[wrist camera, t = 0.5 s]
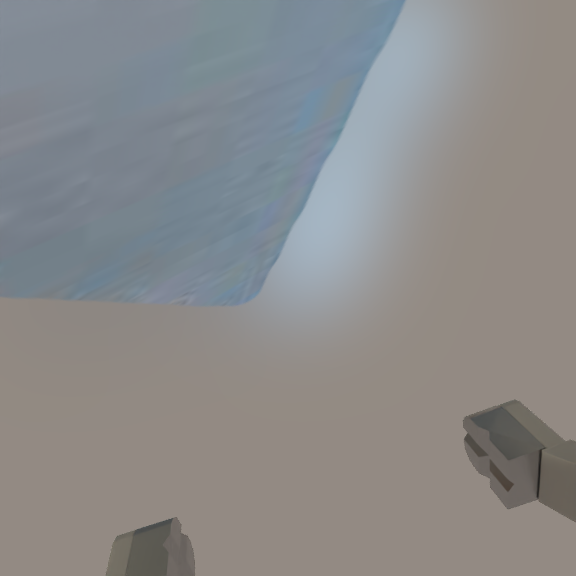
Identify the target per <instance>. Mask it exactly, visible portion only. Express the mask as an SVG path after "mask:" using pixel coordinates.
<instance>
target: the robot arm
mask: <svg viewBox="0 0 576 576" xmlns="http://www.w3.org/2000/svg"><path fill="white" fill-rule="evenodd" d="M463 427H464V429H465V430H466V431H467V432H468V433H467V435H466V437H465V438H464V444H465V450H466V452H467V455H468V457H469V459H470V461H471V462H472V464H473V466H474V467H475V468H476V470H477V471H478V472H479V473H480V474H482V475H484V476H486V477H488V478H490V488H491V489H492V490H493V491H494V493H495V494H496V495H497V496H498V498H499V499H500V500H501V501H502V503H503V504H504V505H505V507H506V508H507V509H511V508H514V507H517V506H520V505H523V504H526V503H528V502H532V501H535V500H537V499H539V502H541V503H543V504H544V505H546V506H548V507H550V508H551V509H553V510H555V511H557V512H558V513H560V514H562V515H564V516H566V517H567V518H569V519H571V520H572V521H574V522H576V441H573V440H569V441H565V440H564V439H562V438H561V437H560V436H559V435H558V434H557V433H556V432H554V431H553V430H552V429H551V428H550V427H548V426H547V425H546V424H545V423H544V422H543V421H542V420H540V419H539V418H538V417H537V416H536V415H534V414H533V413H532V412H531V411H530V410H529V409H528V408H526V407H525V406H524V405H523V404H522V403H521V402H520V401H517V400H512V401H509V402H506V403H503V404H500V405H498V406H494V407H491V408H488V409H485V410H483V411H480V412H477V413H474V414H471V415H469V416H466V417H465V418H464V420H463ZM106 576H195V560H194V553H193V548H192V545H191V542H190V540H189V538H188V536H187V535H184V534H182V533H181V524H180V522H179V520H178V519H177V517H175V518H172V519H168V520H165V521H162V522H159V523H156V524H153V525H149V526H146V527H143V528H140V529H137V530H134V531H131V532H128V533H125V534H122V535H119V536H117V537H116V539H115V541H114V542H113V545H112V549H111V554H110V558H109V562H108V567H107V571H106Z"/></svg>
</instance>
